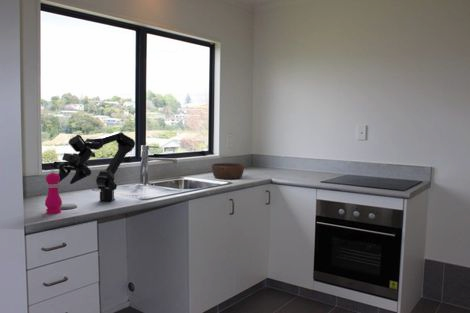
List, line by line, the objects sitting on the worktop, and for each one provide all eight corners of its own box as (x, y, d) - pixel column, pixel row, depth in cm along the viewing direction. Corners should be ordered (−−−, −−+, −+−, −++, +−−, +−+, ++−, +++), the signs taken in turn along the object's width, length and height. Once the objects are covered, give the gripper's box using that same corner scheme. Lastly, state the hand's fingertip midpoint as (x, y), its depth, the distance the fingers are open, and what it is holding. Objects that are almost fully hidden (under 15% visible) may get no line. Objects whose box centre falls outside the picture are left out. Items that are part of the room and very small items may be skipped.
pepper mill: (52, 210, 196) (51, 168, 194) (65, 211, 194) (64, 169, 192) (41, 213, 189) (40, 170, 187) (54, 214, 187) (53, 171, 185)
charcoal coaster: (80, 205, 207) (80, 204, 207) (71, 210, 197) (71, 208, 197) (61, 205, 207) (61, 203, 207) (50, 209, 197) (50, 207, 197)
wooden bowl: (206, 176, 322) (206, 163, 321) (235, 175, 332) (235, 162, 331) (219, 181, 299) (219, 167, 298) (249, 179, 309) (249, 165, 309)
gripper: (59, 146, 203) (40, 170, 194) (86, 148, 194) (67, 173, 185) (73, 161, 210) (54, 185, 202) (99, 163, 202) (81, 188, 193)
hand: (63, 182), depth 195 cm, fingers open, 9 cm apart
